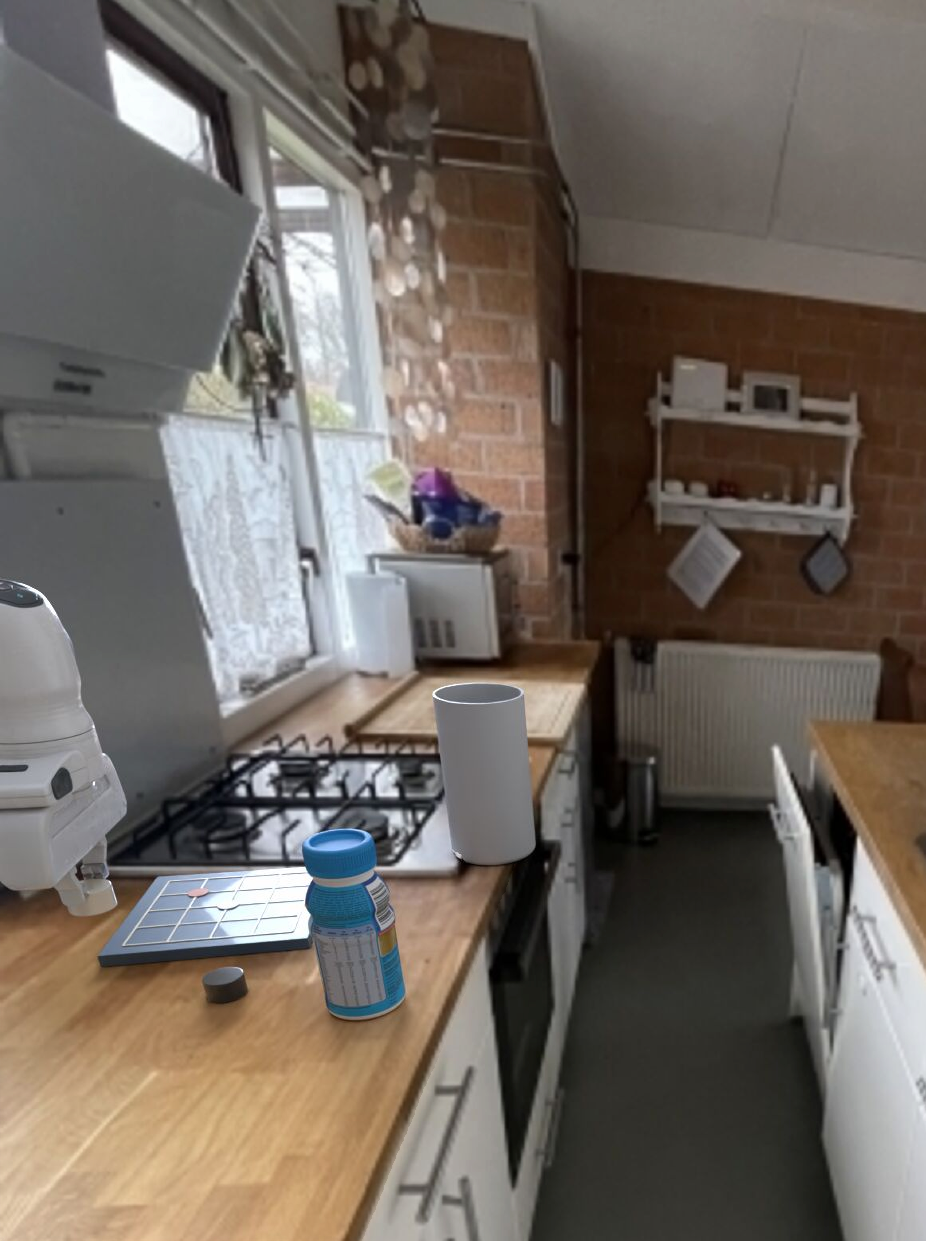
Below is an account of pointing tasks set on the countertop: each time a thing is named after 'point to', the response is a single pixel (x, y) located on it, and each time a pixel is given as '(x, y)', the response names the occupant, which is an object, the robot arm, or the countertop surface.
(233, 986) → the black stone
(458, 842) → the cylinder vase
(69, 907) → the ivory stone
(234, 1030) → the countertop surface
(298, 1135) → the countertop surface
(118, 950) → the board
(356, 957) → the beverage bottle
